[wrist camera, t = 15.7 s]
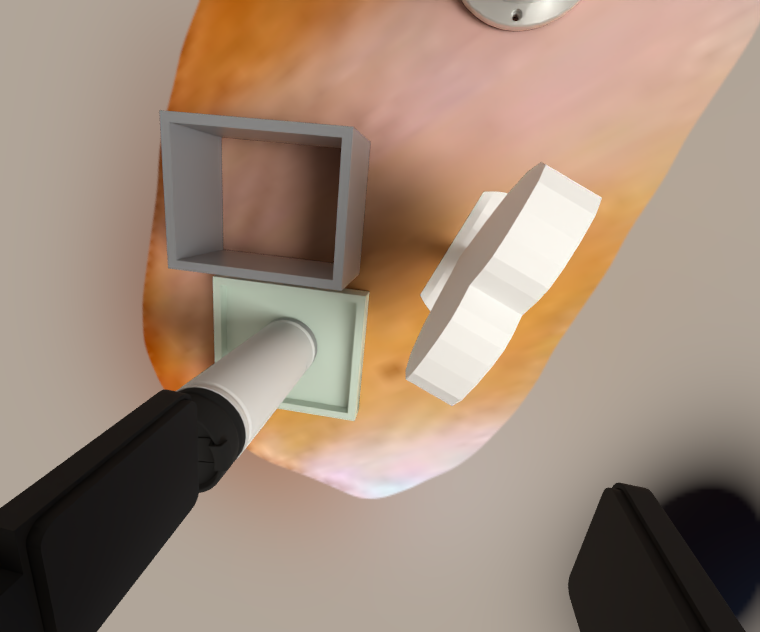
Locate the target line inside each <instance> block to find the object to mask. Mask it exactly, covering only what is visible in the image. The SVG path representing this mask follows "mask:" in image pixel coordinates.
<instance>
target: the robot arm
mask: <svg viewBox="0 0 760 632" xmlns="http://www.w3.org/2000/svg"><path fill="white" fill-rule="evenodd" d="M580 1H581V0H462V2H463V3H464V5H465V6H466V7H467V8H468V9H469V10H470V11H471V12H472V13H473V14H474V15H475V16H476V17H477V18H479V19H480V20H482V21H483V22H485V23H487V24H488V25H491V26H494V27H496V28H499V29H502V30H511V31H522V30H532V29H535V28H538V27H541V26H545V25H547V24H549V23H551V22H553V21H555V20H557V19H559V18H561V17H562V16H563V15H565V14H566V13H567V12H569V11H570V10H571V9H572V8H574V7H575V6H576V5H577V4H578V3H579V2H580ZM513 17H517V18H518V21H513V20H512V18H513ZM198 494H199V472H198V429H197V405H196V403H195V402H193V401H192V399H191V397H190V395H188V394H186V393H181V392H176V391H171V390H162V391H160V392H158V393H157V394H156V395H154V396H153V397H151V398H150V399H149V400H147V401H146V402H145V403H143V404H142V405H141V406H139V407H138V408H136V409H135V410H134V411H132V412H131V413H130V414H128V415H127V416H126V417H124V418H123V419H121V420H120V421H119V422H117V423H116V424H115V425H114V426H112V427H111V428H109V429H108V430H106V431H105V432H104V433H102V434H101V435H100V436H98V437H97V438H96V439H94V440H93V441H91V442H90V443H89V444H87V445H86V446H85V447H83V448H82V449H80V450H79V451H78V452H76V453H75V454H74V455H72V456H71V457H70V458H68V459H67V460H66V461H64V462H63V463H62V464H60V465H59V466H57V467H56V468H55V469H53V470H52V471H50V472H49V473H48V474H46V475H45V476H44V477H42V478H41V479H40V480H38V481H37V482H35V483H34V484H33V485H32V486H30V487H29V488H27V489H26V490H25V491H23V492H22V493H20V494H19V495H18V496H16V497H15V498H14V499H12V500H11V501H9V502H8V503H7V504H5V505H4V506H3V507H1V508H0V632H97V631H98V629H99V628H100V627H101V626H102V624H103V623H104V622H105V620H106V619H107V618H108V616H109V615H110V614H111V613H112V611H113V610H114V609H115V608H116V606H117V605H118V604H119V602H120V601H121V600H122V599H123V597H124V596H125V595H126V593H127V592H128V591H129V589H130V588H131V587H132V585H133V584H134V583H135V582H136V580H137V579H138V578H139V577H140V575H141V574H142V573H143V571H144V570H145V569H146V568H147V566H148V565H149V564H150V562H151V561H152V560H153V558H154V557H155V556H156V555H157V553H158V552H159V551H160V549H161V548H162V547H163V546H164V544H165V543H166V542H167V540H168V539H169V538H170V537H171V535H172V534H173V533H174V531H175V530H176V529H177V527H178V526H179V525H180V524H181V522H182V521H183V520H184V518H185V517H186V516H187V515H188V513H189V512H190V511H191V509H192V508H193V506H194V505H195V503H196V500H197V498H198ZM568 589H569V596H570V600H571V603H572V606H573V609H574V613H575V616H576V619H577V623H578V626H579V629H580V632H745V630H744V629H743V627H742V626H741V624H740V623H739V621H738V620H737V618H736V617H735V615H734V614H733V612H732V611H731V609H730V608H729V606H728V605H727V603H726V602H725V600H724V599H723V597H722V596H721V594H720V593H719V591H718V590H717V589H716V587H715V585H714V584H713V582H712V581H711V580H710V578H709V577H708V575H707V574H706V572H705V571H704V569H703V568H702V566H701V565H700V563H699V562H698V560H697V559H696V557H695V556H694V554H693V553H692V551H691V550H690V548H689V547H688V545H687V544H686V542H685V541H684V539H683V538H682V537H681V535H680V534H679V532H678V531H677V529H676V528H675V526H674V525H673V523H672V522H671V520H670V519H669V517H668V516H667V514H666V513H665V511H664V510H663V508H662V507H661V505H660V504H659V502H658V501H657V499H656V498H655V497H654V495H653V494H652V492H651V491H650V490H649V489H646V488H643V487H638V486H633V485H628V484H623V483H616V484H615V485H613V487H612V488H606V489H605V490H604V492H603V494H602V496H601V499H600V501H599V504H598V506H597V509H596V512H595V514H594V516H593V519H592V521H591V524H590V526H589V529H588V532H587V534H586V536H585V539H584V541H583V544H582V547H581V549H580V552H579V554H578V556H577V559H576V561H575V564H574V566H573V569H572V572H571V574H570V577H569V583H568Z"/></svg>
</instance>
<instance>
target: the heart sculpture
mask: <svg viewBox="0 0 760 632" xmlns="http://www.w3.org/2000/svg"><path fill="white" fill-rule="evenodd" d="M601 199H602V198H601V197H600V196H598V195H596V194H595V193H593V192H591V191H590V190H588V189H586V188H584V187H583V186H581V185H579V184H578V183H576V182H574V181H573V180H571V179H569V178H568V177H566V176H564V175H563V174H561V173H559V172H558V171H556V170H554V169H553V168H551V167H549V166H548V165H546V164H544V163H541V162H540V163H539V164H538V165H536V166H535V167H533V168H532V169H531V170H529V171H528V172H527V173H526V174H525V175H524V176H523V177H522V178H521V179H520V180H519V181H518V183H517V184H516V185H515V186H514V187H513V188H512V189H511V190H510V192H509V193H504V192H483V194H482V195H481V197H480V199H479V200H478V202H477V204H476V205H475V207H474V208H473V210H472V212H471V213H470V215H469V217H468V218H467V220H466V221H465V223H464V225H463V226H462V228H461V230H460V231H459V233H458V234H457V236H456V238H455V239H454V241H453V243H452V244H451V246H450V247H449V249H448V251H447V252H446V254H445V256H444V257H443V259H442V260H441V262H440V264H439V265H438V267H437V268H436V270H435V272H434V273H433V275H432V277H431V278H430V280H429V281H428V283H427V285H426V286H425V288H424V290H423V291H422V293H421V294H420V296H421V298H422V300H423V301H424V303H425V304H426V306H427V307H428V309H429V310H430V311H431V312H430V314H429V315H428V317H427V319H426V321H425V323H424V325H423V327H422V329H421V332H420V334H419V336H418V338H417V340H416V343H415V345H414V347H413V349H412V352H411V355H410V358H409V361H408V364H407V368H406V380H408V381H410V382H411V383H413V384H415V385H417V386H418V387H420V388H422V389H423V390H425V391H427V392H429V393H430V394H432V395H434V396H436V397H437V398H439V399H441V400H442V401H444V402H446V403H448V404H449V405H451V406H453V405H455V404H456V403H458V402H460V401H461V400H462V399H463V398H464V397H465V396H466V395H467V394H468V393H469V392H470V391H471V390H472V389H473V388H474V387H475V386H476V385H477V384H478V383H479V381H480V380H481V379H482V378H483V377H484V376H485V374H486V373H487V372H488V371H489V370H490V369H491V367H492V366H493V365H494V363H495V362H496V361H497V359H498V358H499V357H500V355H501V354H502V353H503V351H504V350H505V348H506V346H507V344H508V343H509V341H510V339H511V337H512V336H513V333H514V331H515V329H516V327H517V325H518V323H519V321H520V319H521V317H522V315H523V314H524V313H525V312H526V311H527V310H529V309H530V308H531V307H532V306H533V305H534V304H535V303H536V302H537V301H538V300H539V299H540V298H541V297H542V296H543V295H544V294H545V293H546V292H547V291H548V290H549V288H550V287H551V286H552V284H553V283H554V281H555V280H556V279H557V277H558V276H559V274H560V273H561V272H562V270H563V269H564V267H565V266H566V264H567V263H568V261H569V259H570V258H571V256H572V255H573V253H574V251H575V250H576V248H577V247H578V245H579V244H580V242H581V240H582V238H583V237H584V235H585V233H586V231H587V230H588V228H589V226H590V224H591V223H592V221H593V219H594V217H595V216H596V213H597V210H598V207H599V204H600V202H601Z"/></svg>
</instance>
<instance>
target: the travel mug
mask: <svg viewBox="0 0 760 632" xmlns="http://www.w3.org/2000/svg"><path fill="white" fill-rule="evenodd" d="M316 355H317V341H316V338H315V336H314V334H313V332H312V331H311V329H310V328H309V327H308V326H307V325H305V324H304V323H303V322H301V321H299V320H297V319H293V318H279V319H277V320H274V321H273V322H271V323H270V324H268V325H267V326H266V327H264V328H263V329H261V330H260V331H259V332H257V333H256V334H254V335H253V336H252V337H250V338H249V339H247V340H246V341H245V342H243V343H242V344H241V345H239V346H238V347H236V348H235V349H234V350H232V351H231V352H230V353H228V354H227V355H225V356H224V357H223V358H221V359H220V360H218V361H217V362H216V363H214V364H213V365H212V366H210V367H209V368H207V369H206V370H205V371H203V372H202V373H200V374H199V375H198V376H196V377H195V378H194V379H192V380H191V381H189V382H188V383H187V384H185V385H184V386H182V387H181V388H180V389H179V390H177V391H176V392H181V393H186V394H188V395H190V397H191V399H192V401H193V402H195V403H196V405H197V429H198V472H199V493H201V492H205V491H207V490H210V489H211V488H213V487H214V486H215V485H216V484H217V483H218V482H219V480H220V479H221V478H222V477H223V475H224V474H225V473H226V471H227V470H228V469H229V468H230V466H231V465H232V464H233V462H234V461H235V460H236V459H237V458H238V457H239V456H240V455H241V454H242V452H243V451H244V450H245V449H246V447H247V446H248V445H249V444H250V442H251V441H252V440H253V438H254V437H255V436H256V435H257V433H258V432H259V431H260V429H261V428H262V427H263V426H264V424H265V423H266V422H267V421H268V419H269V418H270V417H271V415H272V414H273V413H274V412H275V410H276V409H277V408H278V407H279V405H280V404H281V403H282V401H283V400H284V399H285V398H286V396H287V395H288V394H289V392H290V391H291V390H292V389H293V387H294V386H295V385H296V384H297V382H298V381H299V380H300V378H301V377H302V376H303V375H304V373H305V372H306V371H307V369H308V368H309V367H310V366H311V364H312V363H313V362H314V360H315V358H316Z"/></svg>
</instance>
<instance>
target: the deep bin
mask: <svg viewBox="0 0 760 632" xmlns="http://www.w3.org/2000/svg"><path fill="white" fill-rule="evenodd" d="M159 112H160V131H161V149H162V167H163V184H164V202H165V220H166V238H167V255H168V268H170V269H178V270H185V271H193V272H201V273H208V274H216V275H224V276H232V277H239V278H247V279H255V280H262V281H270V282H278V283H285V284H293V285H301V286H308V287H316V288H324V289H331V290H339V291H342V290H343V289H344V288H345V287H346V286H347V285H348V284H349V283H350V282H351V281H353V280H354V279H355V278H356V277H357V276H358V275H359V274H360V262H361V250H362V238H363V226H364V215H365V203H366V191H367V179H368V167H369V155H370V144H371V142H370V141H369V140H368V139H367V138H366V137H365V136H363V135H362V134H361V133H360V132H359V131H358V130H356V129H355V128H354V127H349V126H338V125H326V124H314V123H302V122H291V121H279V120H267V119H256V118H244V117H232V116H221V115H209V114H197V113H185V112H174V111H162V110H160V111H159ZM222 137H224V138H235V139H246V140H257V141H268V142H279V143H289V144H300V145H311V146H322V147H333V148H341V162H340V177H339V193H338V208H337V223H336V239H335V254H334V263H329V262H321V261H313V260H305V259H297V258H288V257H280V256H272V255H264V254H256V253H248V252H240V251H231V250H223V199H222Z"/></svg>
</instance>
